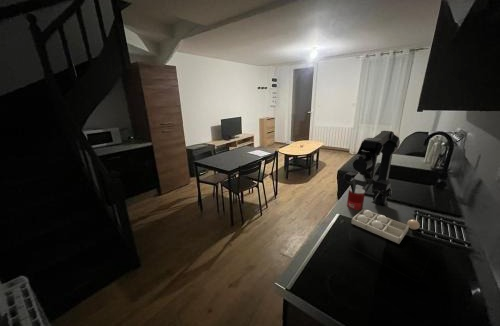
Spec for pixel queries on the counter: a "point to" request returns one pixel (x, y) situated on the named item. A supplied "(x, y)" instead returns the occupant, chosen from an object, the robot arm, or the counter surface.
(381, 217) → the white egg
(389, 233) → the egg tray
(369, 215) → the white egg
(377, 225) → the white egg
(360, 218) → the white egg
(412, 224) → the brown egg
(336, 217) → the counter surface
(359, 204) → the canned food
